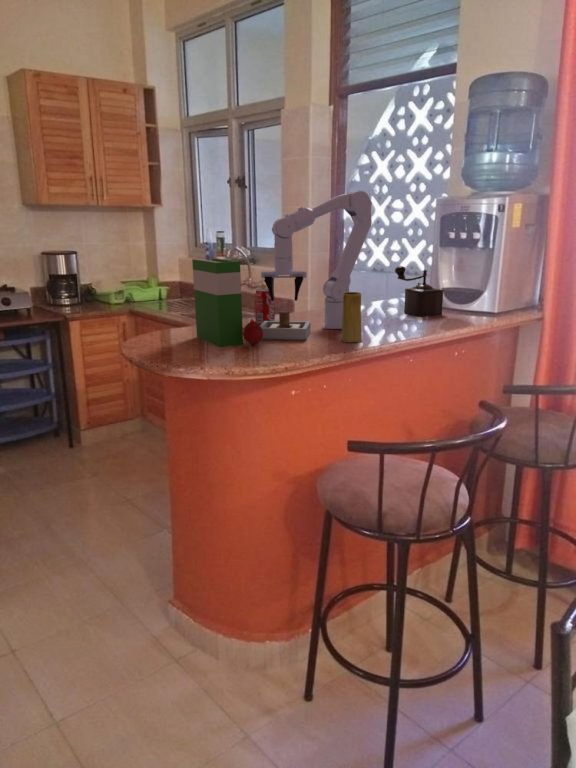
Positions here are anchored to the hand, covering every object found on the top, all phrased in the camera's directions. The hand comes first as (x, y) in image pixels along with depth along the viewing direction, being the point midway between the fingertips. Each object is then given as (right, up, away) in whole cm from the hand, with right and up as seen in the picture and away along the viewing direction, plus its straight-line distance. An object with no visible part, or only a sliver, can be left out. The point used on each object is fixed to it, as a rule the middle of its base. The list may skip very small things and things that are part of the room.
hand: (284, 300), depth 184 cm
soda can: (-7, -6, +15) cm, 18 cm away
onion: (-9, -16, -20) cm, 27 cm away
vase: (+20, -15, -15) cm, 29 cm away
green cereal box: (-20, -14, -12) cm, 27 cm away
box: (0, -12, -7) cm, 14 cm away
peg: (0, -12, -7) cm, 13 cm away
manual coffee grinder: (+50, -1, +29) cm, 58 cm away
